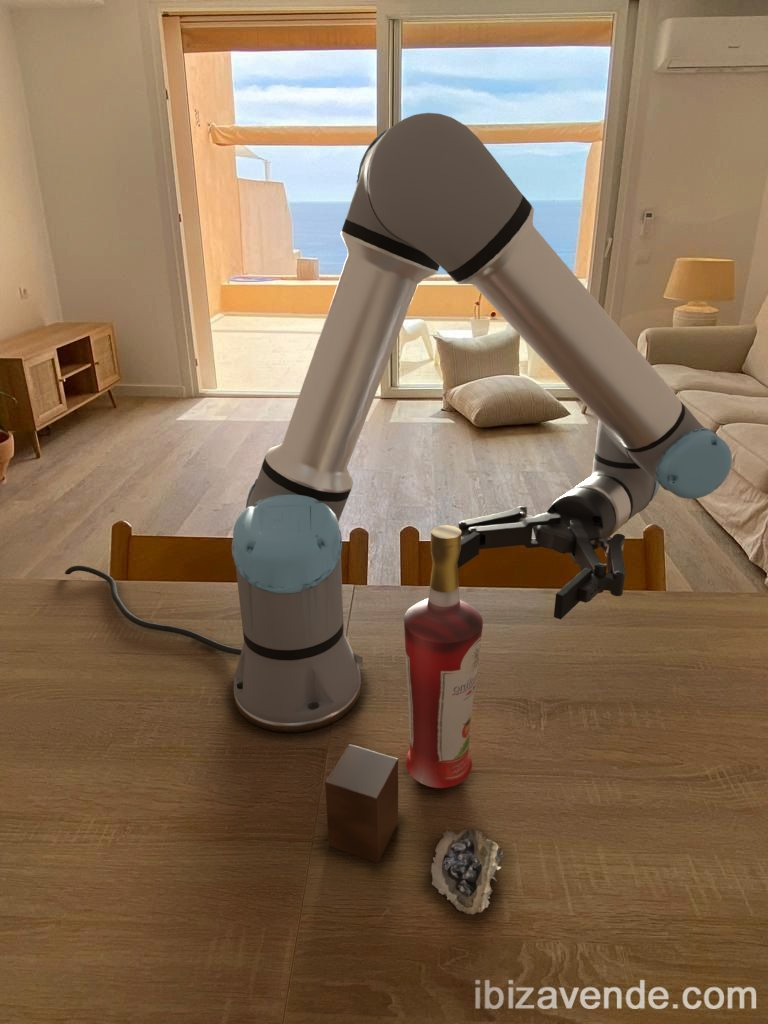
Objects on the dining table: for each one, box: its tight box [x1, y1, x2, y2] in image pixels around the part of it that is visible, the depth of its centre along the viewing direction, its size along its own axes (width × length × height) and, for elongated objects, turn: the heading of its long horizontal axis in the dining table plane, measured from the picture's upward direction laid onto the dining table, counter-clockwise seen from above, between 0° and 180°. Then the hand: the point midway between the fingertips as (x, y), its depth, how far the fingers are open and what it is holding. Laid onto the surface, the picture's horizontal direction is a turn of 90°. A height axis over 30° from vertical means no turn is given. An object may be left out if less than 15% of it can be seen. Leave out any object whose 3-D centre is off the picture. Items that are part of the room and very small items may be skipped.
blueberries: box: [430, 828, 504, 916], centre depth 61 cm, size 7×8×2 cm
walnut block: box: [324, 743, 399, 864], centre depth 64 cm, size 5×5×8 cm
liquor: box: [403, 524, 484, 789], centre depth 67 cm, size 7×7×28 cm
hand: (497, 584), depth 72 cm, fingers open, 13 cm apart
